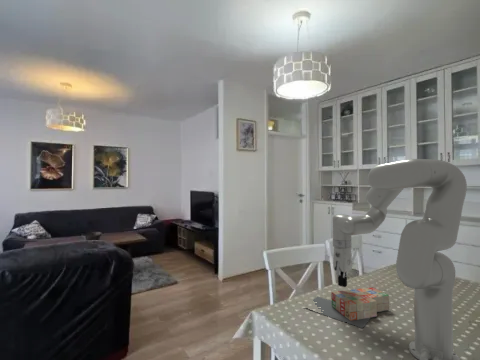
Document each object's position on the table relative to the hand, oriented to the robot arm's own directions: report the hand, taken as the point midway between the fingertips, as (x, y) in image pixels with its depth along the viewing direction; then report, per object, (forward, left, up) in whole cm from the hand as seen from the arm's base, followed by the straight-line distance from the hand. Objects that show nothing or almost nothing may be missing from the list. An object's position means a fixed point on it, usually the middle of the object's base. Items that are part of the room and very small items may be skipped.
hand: (342, 285), depth 114 cm
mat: (-6, 0, -9) cm, 10 cm away
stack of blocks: (+4, -2, -5) cm, 7 cm away
